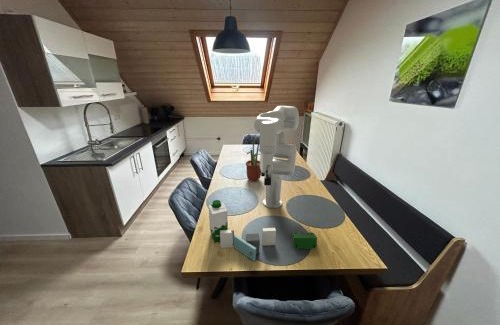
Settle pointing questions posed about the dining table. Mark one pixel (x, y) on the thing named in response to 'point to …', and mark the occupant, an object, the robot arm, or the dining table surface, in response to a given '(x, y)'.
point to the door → (245, 247)
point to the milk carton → (217, 219)
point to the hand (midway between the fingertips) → (265, 180)
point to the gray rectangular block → (253, 241)
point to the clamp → (304, 240)
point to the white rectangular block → (228, 237)
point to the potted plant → (253, 165)
